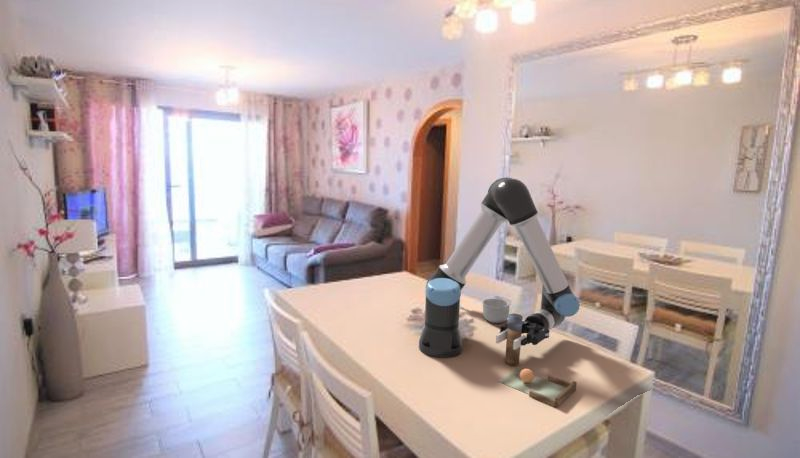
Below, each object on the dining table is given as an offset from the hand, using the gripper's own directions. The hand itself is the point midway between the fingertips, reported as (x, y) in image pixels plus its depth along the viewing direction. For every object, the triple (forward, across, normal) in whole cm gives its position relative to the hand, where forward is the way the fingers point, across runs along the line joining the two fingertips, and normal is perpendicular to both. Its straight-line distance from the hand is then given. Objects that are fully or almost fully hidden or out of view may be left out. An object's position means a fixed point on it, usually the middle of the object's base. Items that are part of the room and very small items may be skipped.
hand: (505, 342), depth 130 cm
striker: (-5, 0, -9) cm, 10 cm away
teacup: (-36, +25, -9) cm, 45 cm away
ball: (+3, -9, -7) cm, 12 cm away
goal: (+3, -12, -9) cm, 15 cm away
